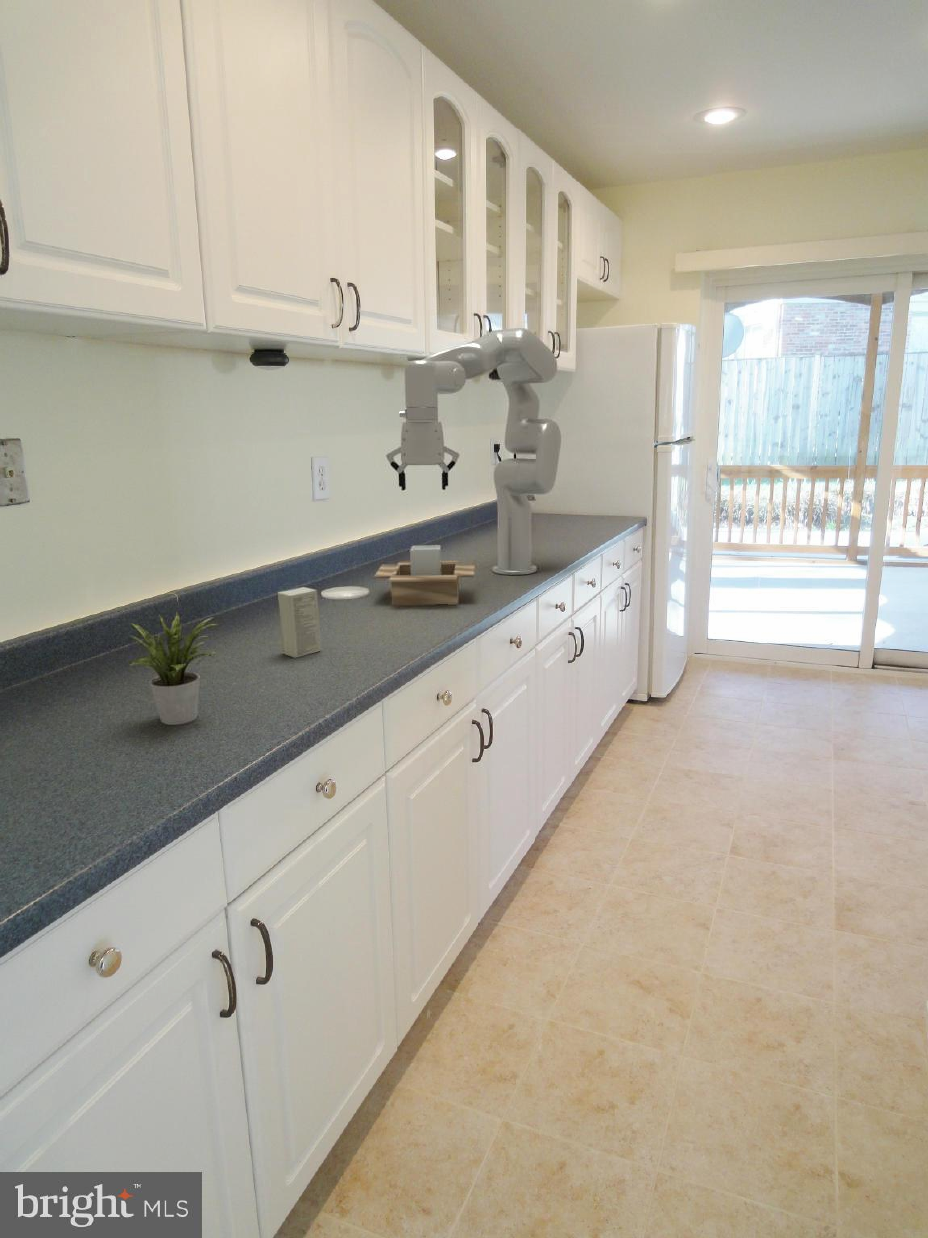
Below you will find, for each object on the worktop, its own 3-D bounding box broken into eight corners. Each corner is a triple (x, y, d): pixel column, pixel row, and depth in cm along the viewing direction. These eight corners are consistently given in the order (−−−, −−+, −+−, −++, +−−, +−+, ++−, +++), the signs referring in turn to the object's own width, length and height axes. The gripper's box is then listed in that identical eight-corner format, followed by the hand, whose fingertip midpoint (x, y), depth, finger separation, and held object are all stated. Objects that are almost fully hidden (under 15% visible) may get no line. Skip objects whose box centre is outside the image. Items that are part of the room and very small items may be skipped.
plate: (326, 589, 211) (326, 586, 211) (372, 589, 211) (371, 586, 211) (317, 599, 200) (317, 596, 199) (365, 599, 199) (365, 596, 199)
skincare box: (308, 647, 159) (304, 586, 156) (322, 651, 155) (318, 589, 152) (281, 654, 154) (276, 591, 151) (294, 658, 151) (289, 595, 148)
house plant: (246, 724, 119) (236, 616, 115) (147, 746, 112) (133, 631, 108) (217, 697, 131) (207, 599, 127) (126, 715, 123) (113, 611, 119)
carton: (384, 588, 212) (383, 561, 210) (475, 587, 211) (474, 560, 209) (373, 609, 189) (371, 579, 187) (474, 608, 188) (474, 578, 187)
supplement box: (441, 600, 196) (439, 549, 193) (410, 601, 196) (408, 549, 193) (442, 594, 203) (441, 544, 200) (413, 594, 204) (411, 544, 201)
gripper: (383, 416, 186) (385, 491, 190) (458, 415, 186) (459, 490, 190) (386, 416, 193) (389, 488, 197) (459, 415, 193) (460, 487, 197)
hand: (423, 489), depth 193 cm, fingers open, 9 cm apart
